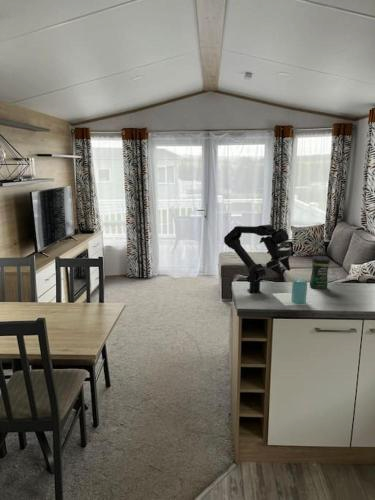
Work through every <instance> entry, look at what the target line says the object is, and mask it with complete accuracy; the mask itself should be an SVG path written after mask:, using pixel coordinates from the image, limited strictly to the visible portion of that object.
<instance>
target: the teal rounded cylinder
mask: <svg viewBox="0 0 375 500" xmlns="http://www.w3.org/2000/svg"><path fill="white" fill-rule="evenodd" d="M292 280H293V282H292V284H291V285H292V288H291V293H292V300H291V301H292V302H293V303H297V304H304V303H306V300H307V294H308V293H307V292H308V291H307V290H308V281H307V280H305V279H292Z"/></svg>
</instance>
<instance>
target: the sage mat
mask: <svg viewBox="0 0 375 500" xmlns="http://www.w3.org/2000/svg"><path fill="white" fill-rule="evenodd" d="M272 296H273V297H275V299H277V300H278V301H279V302H281V303H282V304H283V305H284V306H302V305H303V306H306V305H308V306H309V305H312V303H311V302H309V301H308V300H307V299H306V303H304V304H297V303H293V302H292V301H291V300H292V292H283V293H279V292H278V293H272Z"/></svg>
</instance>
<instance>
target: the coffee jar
mask: <svg viewBox="0 0 375 500" xmlns="http://www.w3.org/2000/svg"><path fill="white" fill-rule="evenodd" d="M311 265H312V267H311V268H312V270H311V276H310V280H309V287H310V288H312V289H315V290H316V289H317V290H319V289H320V290H325V289H327V288H328V272H329V266H330V257H328V256H322V255H321V256H319V255H317V256H312V259H311Z"/></svg>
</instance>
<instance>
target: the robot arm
mask: <svg viewBox="0 0 375 500" xmlns="http://www.w3.org/2000/svg"><path fill="white" fill-rule="evenodd" d="M242 234H254V235H256V236H261V237H260V241H259V243H260V244H262V243H264V246H265V247H266V250H267V251H266V253H267V254H269V255H270V257H271V258H270V260H269V261H268V262H266V265H265V266H266V268H265V267H263V265H262V263H256V262H255V261H254V260H253V259H252V257H251V255H249V253H248V252H247V251H246V250H245V248H244V247H243V246H242V244H241V240H240V239H241V237H242ZM289 238H290V237H289V234H288V232H286V231H285V230H284V228H279V229H278V230H276V229H275V228H273V226H272V225H271V224H262V225H257V226H252V225H251V226H250V225H248V226H247V225H236V226H234V227H233V229H231V230H230V231H229V232H227V234H226V235H225V236H224V237H223V242H224V244H225V245H226V246H227V247H228V248H229V249H232V250H233V251H234V252H235V254H236V255H237V256H238V257H239V259H241V261H242V263H244V265H245V266H246V268H247V269H248V270H247V271H248V276H247V277H245V278H246V282H248V283H249V288H248V289H247V292H248V293H250V294H260V293H261V294H262V293H263V292H262V291H261V282H262V281H264V278H265V277H266V276H267V271H266V269H269V270H271V271H273V272H275V274H277V275H278V276H279V277H284V274H283V272H282V269H281V264H282V266H283V267H284V268H285V269H286V270H287V272H288V271H291V267H290V258H291V255H292V251H293V247H292V246H291V245H290V244H286V245H285V246H284V247H281V244H282V243H285V242H287V241H289Z"/></svg>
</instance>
